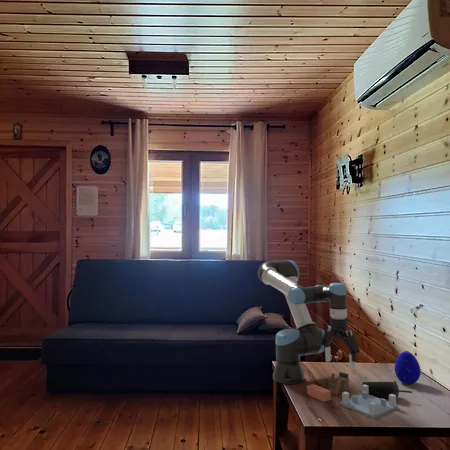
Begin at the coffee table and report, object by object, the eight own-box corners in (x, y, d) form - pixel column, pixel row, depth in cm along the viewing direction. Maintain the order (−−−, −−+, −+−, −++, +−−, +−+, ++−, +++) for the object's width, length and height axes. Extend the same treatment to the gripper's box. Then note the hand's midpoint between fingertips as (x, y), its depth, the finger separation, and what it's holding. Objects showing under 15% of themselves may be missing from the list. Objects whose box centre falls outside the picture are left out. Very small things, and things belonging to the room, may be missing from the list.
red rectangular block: (307, 395, 181) (307, 385, 181) (313, 392, 183) (313, 383, 183) (324, 402, 173) (324, 393, 173) (330, 400, 175) (330, 390, 175)
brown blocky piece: (336, 395, 180) (336, 375, 180) (328, 392, 183) (328, 372, 183) (348, 388, 187) (348, 369, 187) (341, 386, 190) (340, 367, 190)
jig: (340, 404, 170) (340, 392, 170) (364, 395, 179) (364, 383, 179) (374, 418, 157) (374, 405, 157) (398, 407, 166) (397, 395, 166)
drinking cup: (363, 400, 180) (413, 406, 170) (360, 389, 177) (410, 394, 167) (365, 386, 186) (413, 390, 176) (362, 374, 183) (410, 378, 173)
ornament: (422, 383, 192) (421, 350, 192) (417, 389, 185) (416, 355, 185) (398, 377, 199) (397, 347, 199) (392, 383, 192) (391, 351, 192)
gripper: (312, 314, 193) (313, 359, 193) (356, 323, 173) (357, 373, 172) (322, 312, 198) (324, 356, 197) (367, 320, 177) (368, 370, 177)
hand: (339, 364), depth 185 cm, fingers open, 13 cm apart
